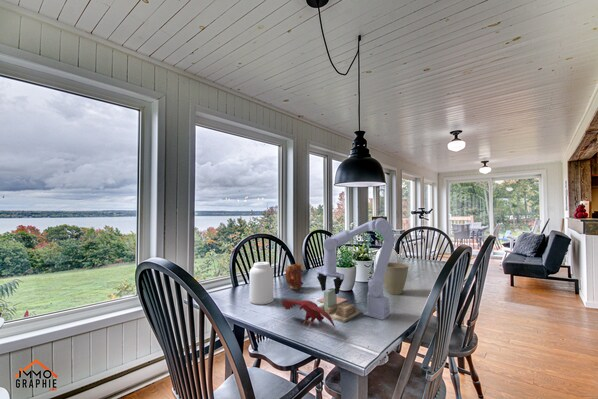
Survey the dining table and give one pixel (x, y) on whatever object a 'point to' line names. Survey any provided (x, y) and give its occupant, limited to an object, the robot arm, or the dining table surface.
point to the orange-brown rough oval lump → (294, 276)
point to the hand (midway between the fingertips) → (330, 292)
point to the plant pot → (395, 277)
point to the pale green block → (329, 298)
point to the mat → (339, 300)
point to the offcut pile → (345, 310)
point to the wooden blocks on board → (332, 313)
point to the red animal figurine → (308, 310)
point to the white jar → (261, 283)
